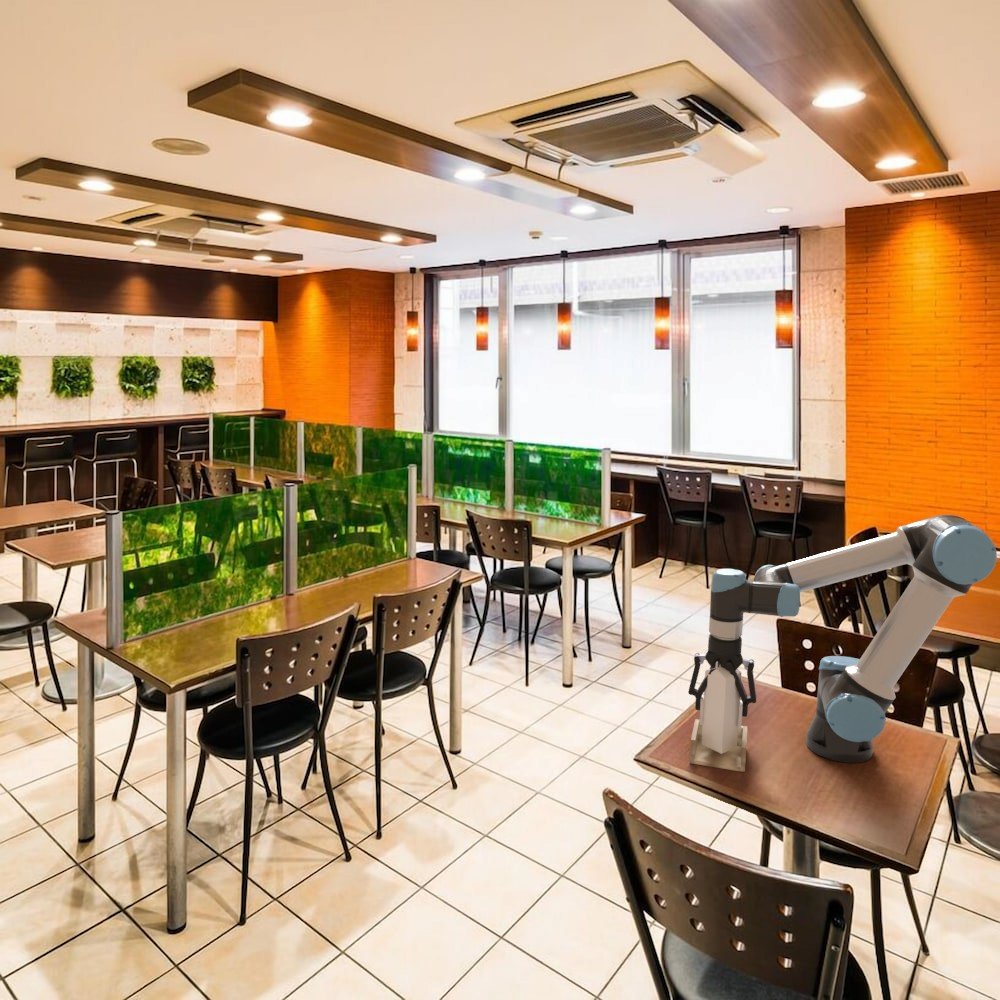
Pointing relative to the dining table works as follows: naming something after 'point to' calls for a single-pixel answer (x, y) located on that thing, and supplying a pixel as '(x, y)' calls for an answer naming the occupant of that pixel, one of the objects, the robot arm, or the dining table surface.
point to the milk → (720, 710)
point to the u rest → (712, 758)
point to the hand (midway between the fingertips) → (720, 725)
